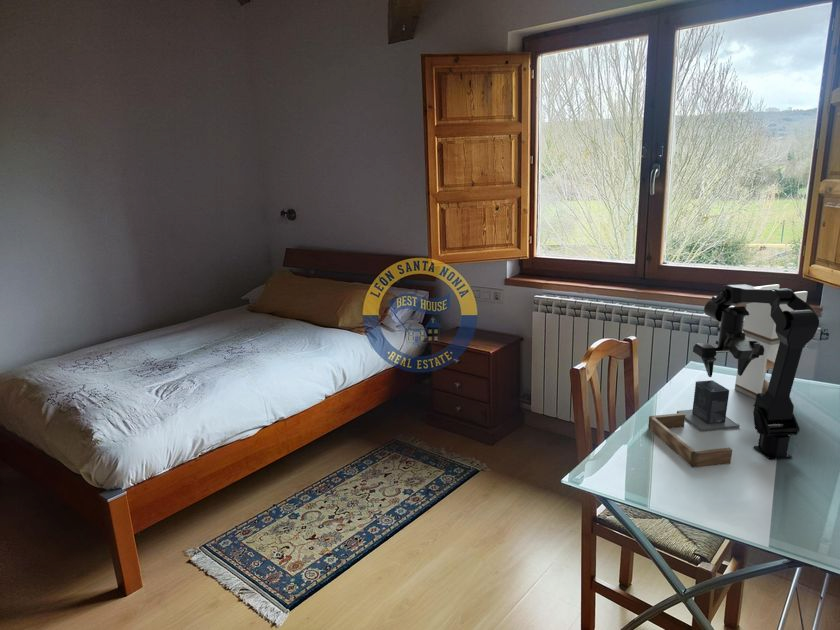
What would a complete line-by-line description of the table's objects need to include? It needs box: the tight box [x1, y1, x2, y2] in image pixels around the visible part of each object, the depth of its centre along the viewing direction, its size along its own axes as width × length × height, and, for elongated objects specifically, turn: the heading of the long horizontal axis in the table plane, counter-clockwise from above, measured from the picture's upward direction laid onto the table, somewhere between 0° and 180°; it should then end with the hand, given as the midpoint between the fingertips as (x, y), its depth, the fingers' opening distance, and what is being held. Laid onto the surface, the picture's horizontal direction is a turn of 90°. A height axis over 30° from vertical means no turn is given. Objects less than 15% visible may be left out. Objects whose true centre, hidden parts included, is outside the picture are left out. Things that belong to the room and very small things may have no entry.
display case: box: [734, 283, 809, 400], centre depth 179 cm, size 11×11×35 cm
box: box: [692, 379, 730, 424], centre depth 165 cm, size 8×6×11 cm
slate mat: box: [676, 408, 740, 433], centre depth 166 cm, size 12×12×1 cm
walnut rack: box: [647, 412, 733, 469], centre depth 153 cm, size 21×10×4 cm, turn 8°
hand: (724, 376), depth 168 cm, fingers open, 9 cm apart
